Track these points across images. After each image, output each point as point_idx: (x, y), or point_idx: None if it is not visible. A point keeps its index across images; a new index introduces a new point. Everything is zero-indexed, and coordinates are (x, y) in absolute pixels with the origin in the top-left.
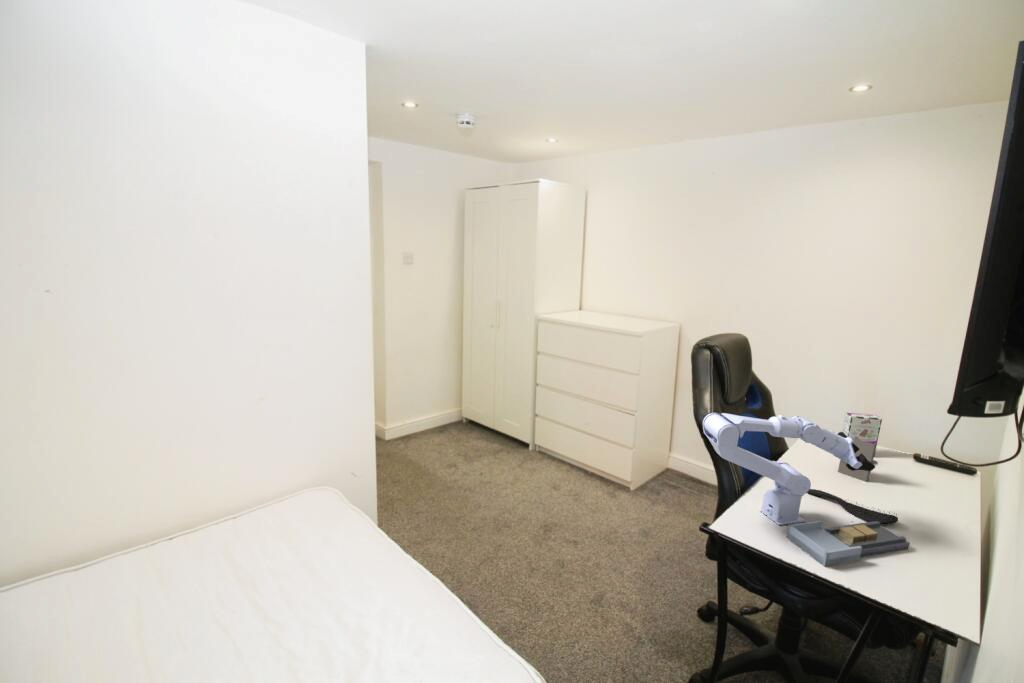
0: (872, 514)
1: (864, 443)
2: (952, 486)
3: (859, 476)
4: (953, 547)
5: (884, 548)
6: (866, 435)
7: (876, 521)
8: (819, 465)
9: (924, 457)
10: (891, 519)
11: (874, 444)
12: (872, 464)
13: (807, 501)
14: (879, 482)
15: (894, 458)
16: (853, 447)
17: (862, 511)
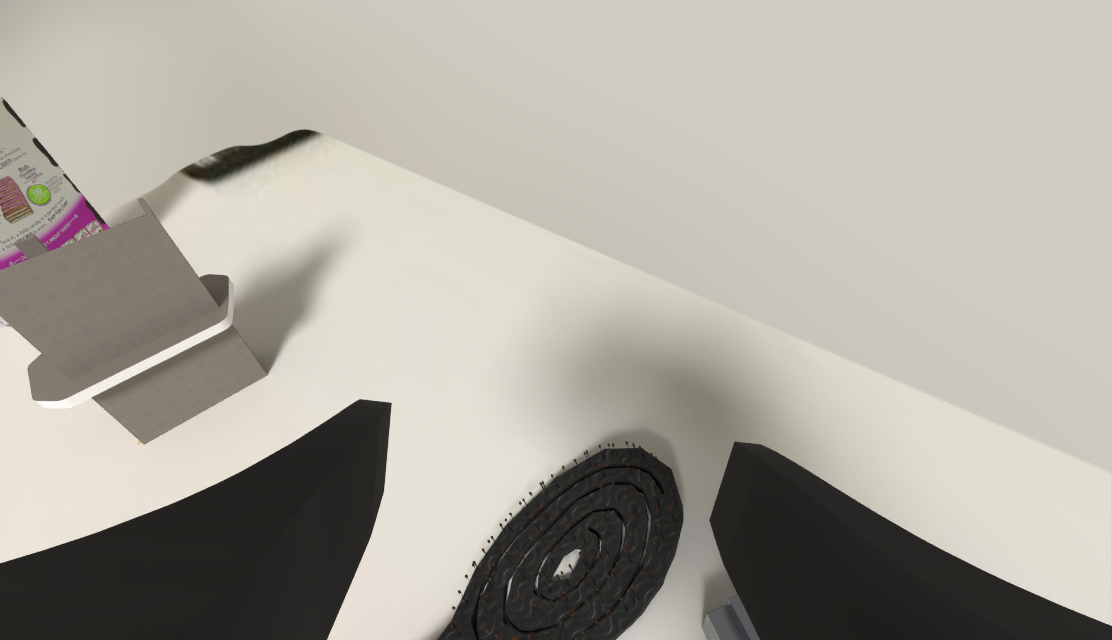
0: (568, 536)
1: (106, 244)
2: (360, 181)
3: (231, 381)
4: (749, 356)
5: None
6: (30, 202)
7: (737, 608)
8: (40, 500)
9: (205, 160)
10: (655, 487)
11: (151, 213)
12: (823, 482)
13: None
14: (287, 331)
15: (171, 214)
16: (357, 485)
17: (535, 572)
